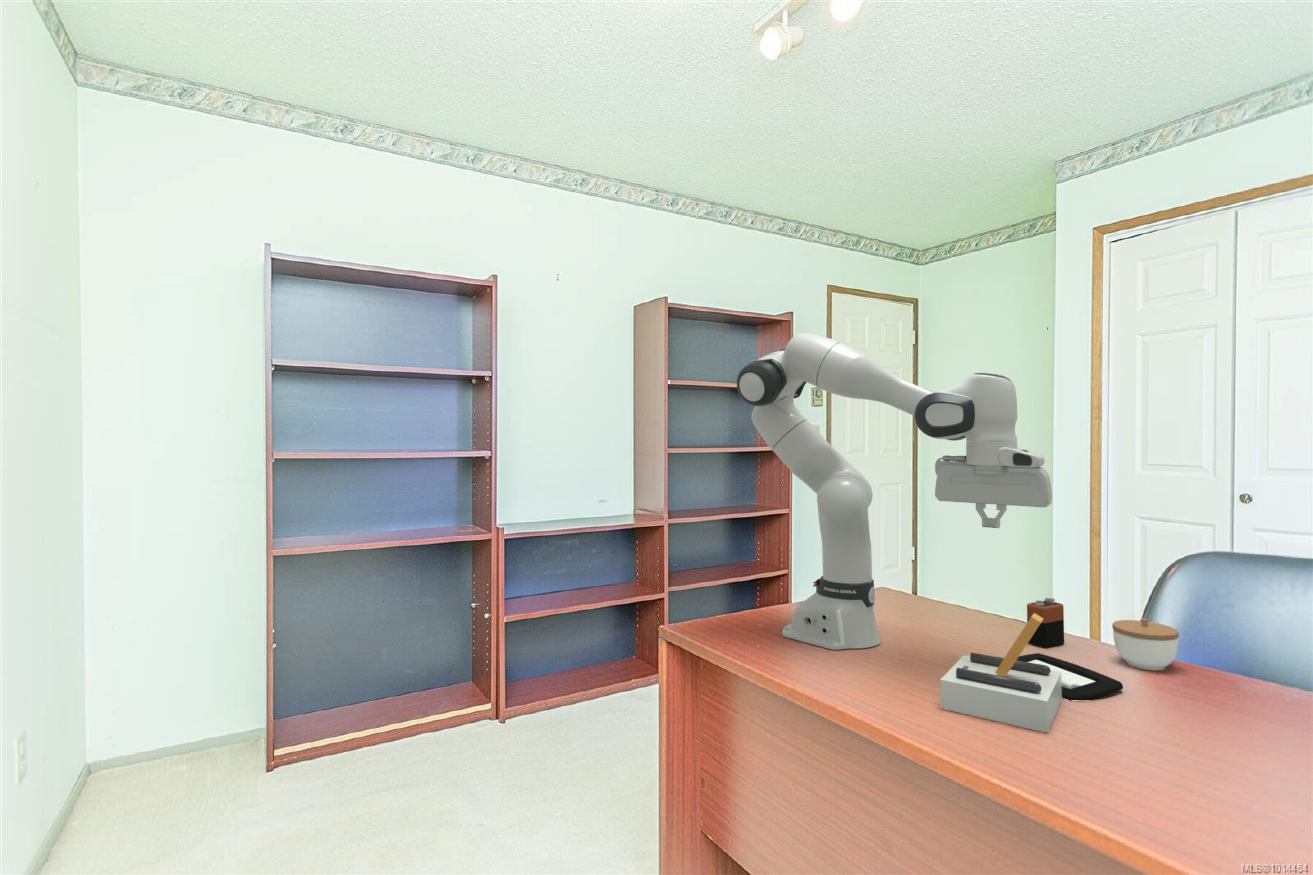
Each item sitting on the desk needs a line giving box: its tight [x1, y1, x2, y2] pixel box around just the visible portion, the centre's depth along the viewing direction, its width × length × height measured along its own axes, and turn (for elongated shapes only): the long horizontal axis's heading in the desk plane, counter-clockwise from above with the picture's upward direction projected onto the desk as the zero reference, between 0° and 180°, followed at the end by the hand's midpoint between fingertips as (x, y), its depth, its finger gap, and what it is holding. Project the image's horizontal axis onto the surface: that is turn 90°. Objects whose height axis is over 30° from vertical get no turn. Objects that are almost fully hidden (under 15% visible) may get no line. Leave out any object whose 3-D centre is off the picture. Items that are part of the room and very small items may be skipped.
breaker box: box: [939, 652, 1063, 734], centre depth 113 cm, size 16×16×7 cm
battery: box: [1026, 597, 1065, 649], centre depth 146 cm, size 4×7×10 cm, turn 113°
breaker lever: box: [995, 613, 1043, 677], centre depth 112 cm, size 2×3×12 cm, turn 141°
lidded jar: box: [1112, 618, 1180, 672], centre depth 131 cm, size 11×11×9 cm
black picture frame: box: [1017, 652, 1124, 701], centre depth 125 cm, size 20×3×14 cm
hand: (990, 527), depth 126 cm, fingers closed
